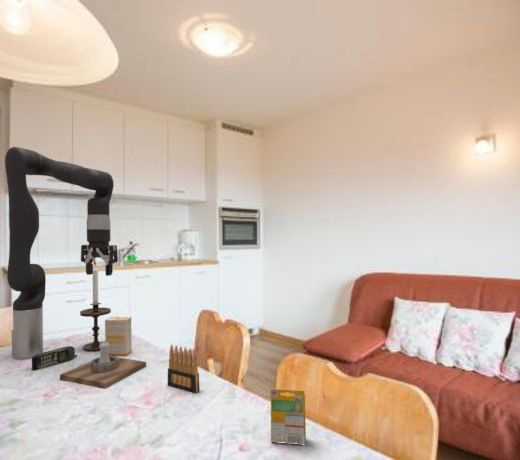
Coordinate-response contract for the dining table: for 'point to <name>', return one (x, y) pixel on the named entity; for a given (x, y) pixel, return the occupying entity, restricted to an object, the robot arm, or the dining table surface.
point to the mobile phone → (53, 357)
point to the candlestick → (94, 314)
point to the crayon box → (288, 416)
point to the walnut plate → (102, 379)
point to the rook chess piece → (104, 352)
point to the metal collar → (104, 365)
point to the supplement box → (118, 335)
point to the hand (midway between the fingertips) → (99, 274)
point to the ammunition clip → (183, 370)
